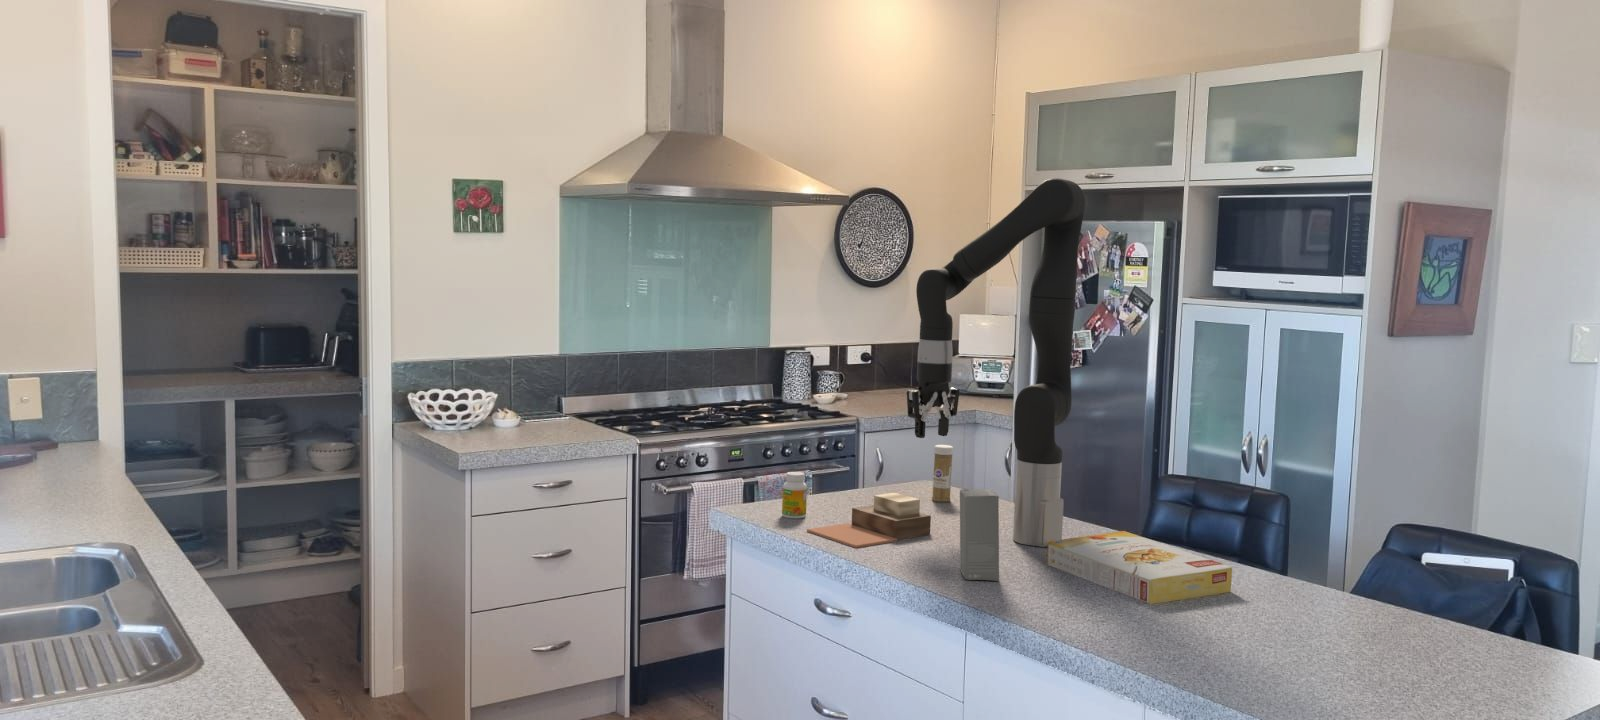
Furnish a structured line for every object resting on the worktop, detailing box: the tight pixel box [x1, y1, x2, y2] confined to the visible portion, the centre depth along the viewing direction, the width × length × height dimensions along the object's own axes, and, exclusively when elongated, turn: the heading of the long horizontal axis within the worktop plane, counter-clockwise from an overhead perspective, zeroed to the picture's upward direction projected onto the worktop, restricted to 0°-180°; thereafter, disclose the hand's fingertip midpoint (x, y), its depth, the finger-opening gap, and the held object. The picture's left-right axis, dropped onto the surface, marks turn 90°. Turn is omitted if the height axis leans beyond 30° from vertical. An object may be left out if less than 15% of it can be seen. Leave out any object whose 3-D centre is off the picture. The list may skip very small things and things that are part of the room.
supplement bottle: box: [781, 471, 808, 520], centre depth 263 cm, size 5×5×10 cm
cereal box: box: [1046, 530, 1233, 604], centre depth 221 cm, size 20×6×28 cm
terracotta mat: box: [806, 522, 897, 549], centre depth 246 cm, size 16×11×1 cm
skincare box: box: [959, 488, 1000, 582], centre depth 219 cm, size 8×7×16 cm
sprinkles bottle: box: [931, 444, 954, 503], centre depth 285 cm, size 5×5×14 cm
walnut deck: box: [851, 504, 932, 540], centre depth 253 cm, size 14×10×4 cm
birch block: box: [873, 492, 921, 516], centre depth 253 cm, size 8×6×3 cm
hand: (931, 436), depth 258 cm, fingers open, 6 cm apart
